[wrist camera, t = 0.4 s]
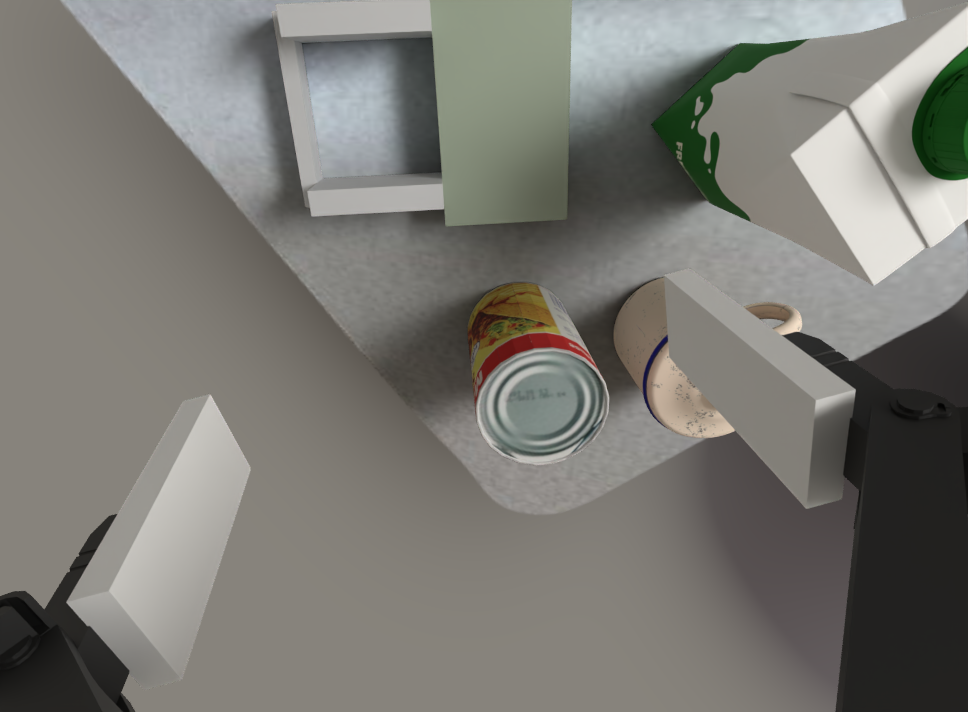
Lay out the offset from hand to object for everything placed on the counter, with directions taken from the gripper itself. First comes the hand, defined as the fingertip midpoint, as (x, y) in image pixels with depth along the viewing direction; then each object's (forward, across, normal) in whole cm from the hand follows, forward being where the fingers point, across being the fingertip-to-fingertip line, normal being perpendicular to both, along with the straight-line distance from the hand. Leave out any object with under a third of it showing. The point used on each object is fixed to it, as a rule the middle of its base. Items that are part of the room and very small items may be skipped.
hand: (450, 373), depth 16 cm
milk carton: (+25, +21, -1) cm, 33 cm away
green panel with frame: (+26, +2, +4) cm, 27 cm away
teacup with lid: (+24, +18, -15) cm, 33 cm away
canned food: (+25, +5, -12) cm, 28 cm away
